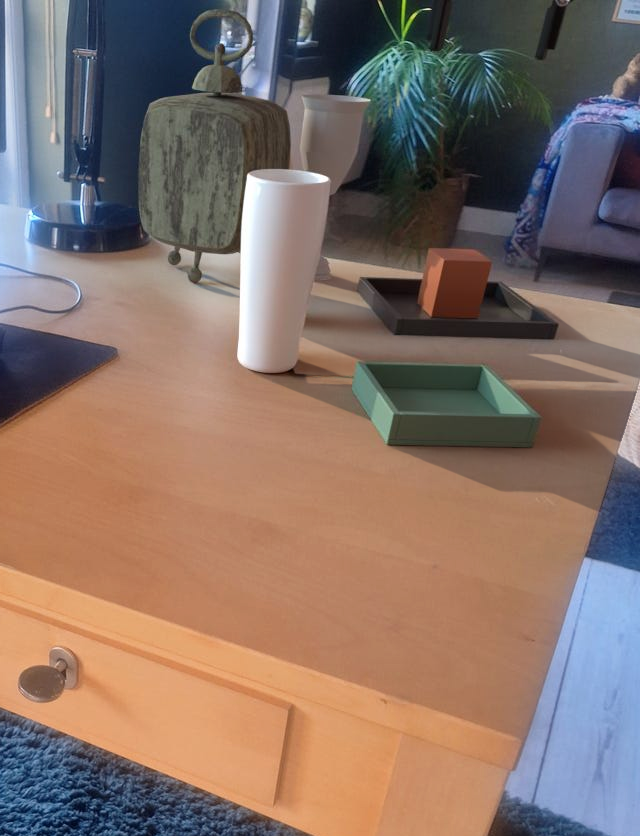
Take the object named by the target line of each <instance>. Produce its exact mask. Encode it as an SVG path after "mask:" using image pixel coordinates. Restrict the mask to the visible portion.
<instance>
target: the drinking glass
mask: <svg viewBox="0 0 640 836" xmlns="http://www.w3.org/2000/svg"><path fill="white" fill-rule="evenodd" d="M330 186H331V180H330V178H328V177H327V176H324V175H321V174H317V173H312V172H306V171H304V170H298V169H289V170H287V169H262V170H255V171H251V172H249V173H248V174H247V180H246V187H245V194H244V202H243V212H242V224H241V254H240V258H239V259H240V261H239V262H240V263H239V267H240V268H239V274H240V275H239V317H238V318H239V319H238V320H239V322H238V343H237V352H236V353H237V354H236V355H237V361H238V362H239V364H240V365H241V366H242V367H244V368H246V369H248V370H251V371H252V372H253V371H254V372H258V373H265V374H281V373H285V372H289V371H291V370H292V369H293V368H295V366H296V365H297V364H298V360H299V354H300V348H301V347H300V346H301V340H302V337H303V332H304V328H305V322H306V318H307V313H308V309H309V304H310V300H311V296H312V292H313V291H312V290H313V287H314V282H315V280H314V278H315V274H316V270H317V265H318V261H319V257H320V255H321V254H320V252H321V253H322V247H323V243H324V238H325V235H324V233H325V234H326V226H327V219H328V212H329V205H330V196H331V195H330Z"/></svg>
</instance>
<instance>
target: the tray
mask: <svg viewBox="0 0 640 836" xmlns="http://www.w3.org/2000/svg"><path fill="white" fill-rule="evenodd" d="M351 390H352V392H353V394H354V395H355V397H356V398H357V401H358V402H359V403H360V405H361V406H362V408H363V409H364V411H365V413H366V415H367V416H368V417H369V419H370V421H371V422H372V424H373V425H374V427H375V428H376V430H377V432H378V433H379V434H380V437H381V438H382V440H383V441H384V443H385V444H386V446H429V447H430V446H431V447H432V446H433V447H434V446H436V447H437V446H438V447H440V446H441V447H484V448H485V447H486V448H533V446H534V443H535V439H536V437H537V434H538V430H539V427H540V425H541V420H542V416H541V414H539V413H538V412H537V411H536V410H534V408H533V407H532V406H530V404H528V403H527V402H526V401H525V399H523V398H522V397H521V396H520V395H519V394H518V393H517V391H515V390H514V389H513V388H512V386H510V385H509V383H507V382H506V381H505V380H504V379H503V378H501V376H500V375H499V374H497V373H496V372H495V370H493V369H492V368H491V367H490V366H489V365H488V364H480V363H479V364H478V363H477V364H473V363H472V364H471V363H439V362H438V363H436V362H403V361H402V362H397V361H362V360H361V361H360V360H359V361H358V360H357V361H356V363H355V368H354V373H353V379H352V385H351Z"/></svg>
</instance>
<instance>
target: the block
mask: <svg viewBox="0 0 640 836" xmlns="http://www.w3.org/2000/svg"><path fill="white" fill-rule="evenodd" d="M492 264H493V261H492V260H491V259H490V258H488V257H486V256H485V255H483V254H482V253H481V252H479V251H478V250H477V249H469V248H468V249H467V248H444V247H443V248H442V247H439V248H438V247H429V248H428V250H427V255H426V260H425V264H424V269H423V273H422V278H421V279H422V282H421V287H420V292H419V296H418V301H417V303H418V304H419V305H420V306H421V307H422V308H423V309H424V310H425V311H426V312H427V313H428V314H429V315H430V316H431V317H445V318H478V315H479V311H480V307H481V304H482V300H483V296H484V292H485V288H486V284H487V281H489V277H490V272H491V268H492V266H493V265H492Z"/></svg>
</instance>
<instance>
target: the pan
mask: <svg viewBox="0 0 640 836" xmlns="http://www.w3.org/2000/svg"><path fill="white" fill-rule="evenodd" d="M421 282H422V278H404V277H403V278H401V277H376V276H375V277H374V276H359V278H358V283H357V284H358V285H357V290H356V292H357V294H358V295H359V296H360V297H361V298H362V299H363V300H364V302H365V303H366V304H367V305H368V306H369V307H370V309H371V310H372V311H373V312H374V313H375V315H376V316H377V317H378V318H379V319H380V321H381V322H382V323H383V324H384V325H385V326H386V328H387V329H388V330H389V331H390V332H391V333H392V335H393V336H408V337H409V336H410V337H411V336H412V337H415V336H416V337H444V338H445V337H448V338H450V337H451V338H484V339H518V340H549V341H550V340H551V341H553V340H555V338H556V335H557V332H558V328H559V322H557V321H556V320H554V319H553V318H552V317H550V316H549V315H548V314H546V313H545V312H544V311H542V310H541V309H539V308H538V307H536V306H535V305H534V304H533V303H532V302H530V301H529V300H527V299H526V298H525V297H523V296H521V295H520V294H519V293H517V292H516V291H515V290H514V289H512V288H511V287H509V286H508V285H507V284H505V283H503V281H493V280H492V281H491V280H487V284H486V288H485V292H484V296H483V300H482V304H481V307H480V311H479V315H478V318H445V317H431V316H430V315H429V314H428V313H427V312H426V311H425V310H424V309H423V308H422V307H421V306H420V305H419V304H418V303H417V301H418V296H419V292H420V287H421Z"/></svg>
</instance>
